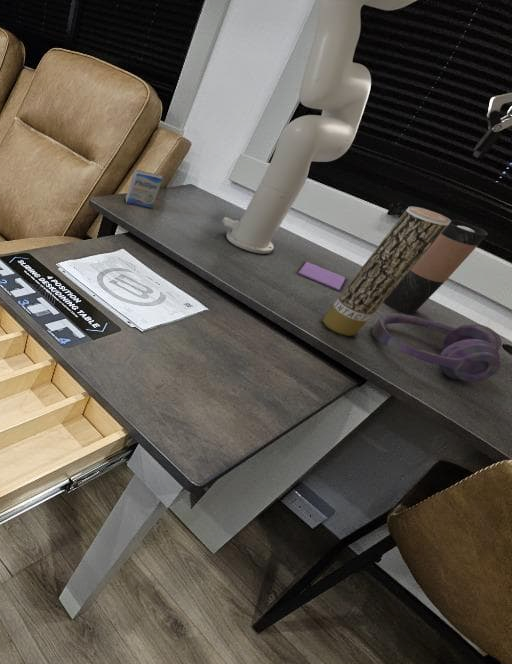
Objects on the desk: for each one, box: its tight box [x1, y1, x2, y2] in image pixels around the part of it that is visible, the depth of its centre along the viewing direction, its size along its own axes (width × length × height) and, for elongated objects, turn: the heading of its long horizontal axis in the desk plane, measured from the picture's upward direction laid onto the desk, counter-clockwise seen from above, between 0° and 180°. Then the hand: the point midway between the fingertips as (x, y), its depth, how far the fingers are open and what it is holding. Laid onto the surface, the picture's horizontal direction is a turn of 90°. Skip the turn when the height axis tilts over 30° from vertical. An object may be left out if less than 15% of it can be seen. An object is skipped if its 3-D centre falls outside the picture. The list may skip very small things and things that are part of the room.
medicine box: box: [125, 169, 163, 209], centre depth 133 cm, size 8×4×9 cm, turn 80°
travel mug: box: [384, 219, 488, 314], centre depth 104 cm, size 8×8×20 cm
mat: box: [297, 261, 346, 292], centre depth 117 cm, size 10×10×1 cm
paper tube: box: [322, 206, 452, 337], centre depth 89 cm, size 7×7×25 cm
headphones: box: [371, 312, 502, 383], centre depth 92 cm, size 18×8×20 cm
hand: (508, 165), depth 78 cm, fingers open, 9 cm apart
